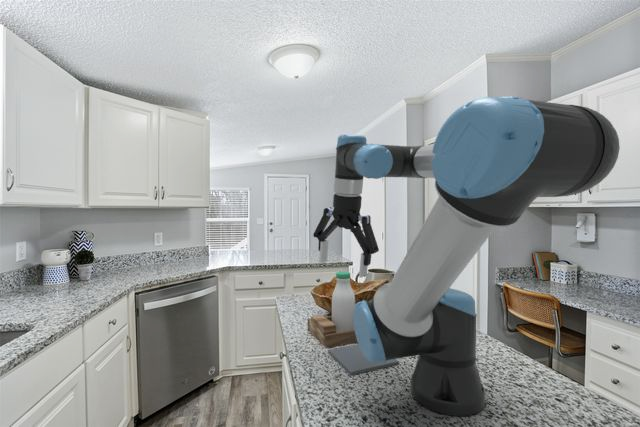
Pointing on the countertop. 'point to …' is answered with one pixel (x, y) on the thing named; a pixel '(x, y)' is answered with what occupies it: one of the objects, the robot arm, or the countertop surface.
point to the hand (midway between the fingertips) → (342, 268)
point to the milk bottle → (343, 303)
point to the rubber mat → (357, 360)
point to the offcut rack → (329, 332)
